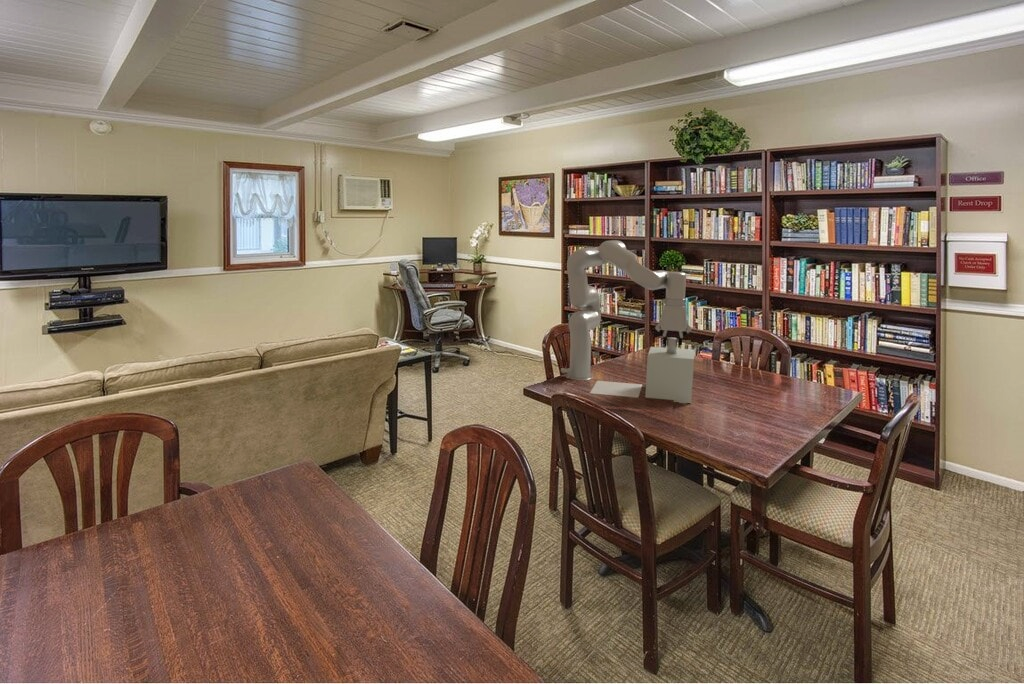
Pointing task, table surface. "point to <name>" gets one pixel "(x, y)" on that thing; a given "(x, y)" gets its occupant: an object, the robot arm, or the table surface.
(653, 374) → the cover
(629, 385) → the mat
